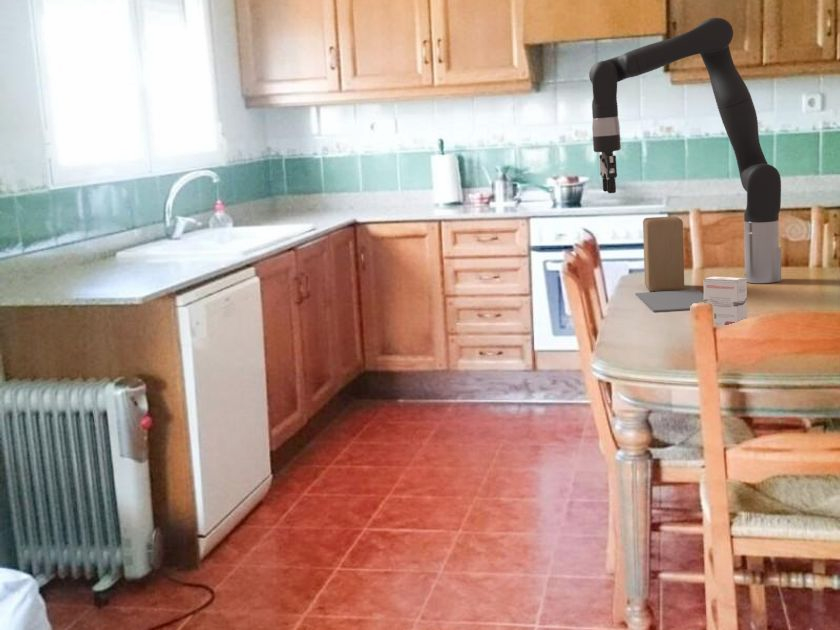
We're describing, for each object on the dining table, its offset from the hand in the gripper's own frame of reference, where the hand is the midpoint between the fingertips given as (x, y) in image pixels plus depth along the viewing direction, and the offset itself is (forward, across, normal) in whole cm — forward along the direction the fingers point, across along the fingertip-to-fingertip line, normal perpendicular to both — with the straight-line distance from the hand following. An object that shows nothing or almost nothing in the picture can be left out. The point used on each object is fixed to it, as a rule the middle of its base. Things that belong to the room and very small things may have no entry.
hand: (609, 192), depth 298 cm
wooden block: (+28, -3, -14) cm, 32 cm away
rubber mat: (+28, -24, -12) cm, 39 cm away
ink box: (+29, -63, -15) cm, 71 cm away
